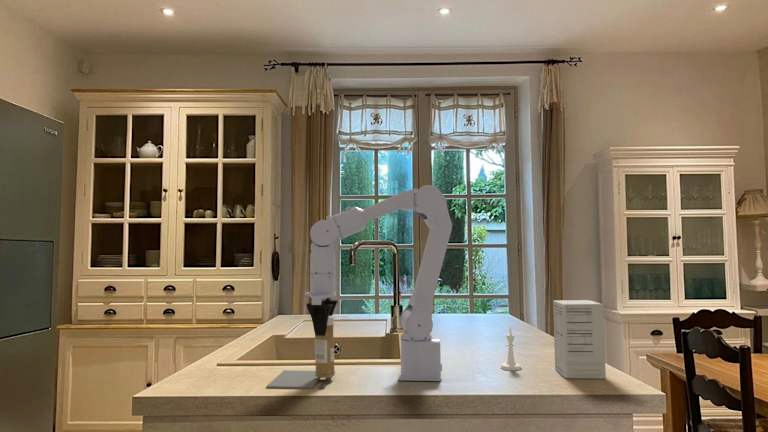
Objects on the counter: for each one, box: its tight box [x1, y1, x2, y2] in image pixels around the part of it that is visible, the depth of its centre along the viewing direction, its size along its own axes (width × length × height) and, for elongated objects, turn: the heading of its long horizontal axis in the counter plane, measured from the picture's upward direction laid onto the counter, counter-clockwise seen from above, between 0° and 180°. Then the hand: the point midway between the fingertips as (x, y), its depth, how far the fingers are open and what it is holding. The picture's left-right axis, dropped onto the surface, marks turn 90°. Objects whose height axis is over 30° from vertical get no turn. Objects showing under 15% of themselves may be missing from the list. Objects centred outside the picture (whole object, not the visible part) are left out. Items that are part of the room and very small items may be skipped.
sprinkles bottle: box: [314, 315, 336, 379], centre depth 121 cm, size 5×5×13 cm
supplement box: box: [552, 299, 607, 380], centre depth 125 cm, size 10×9×17 cm
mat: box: [265, 369, 321, 390], centre depth 121 cm, size 10×14×1 cm
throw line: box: [318, 377, 333, 390], centre depth 121 cm, size 1×14×1 cm, turn 175°
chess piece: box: [500, 326, 522, 371], centre depth 131 cm, size 5×5×10 cm
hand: (322, 333), depth 121 cm, fingers closed on sprinkles bottle, 4 cm apart
